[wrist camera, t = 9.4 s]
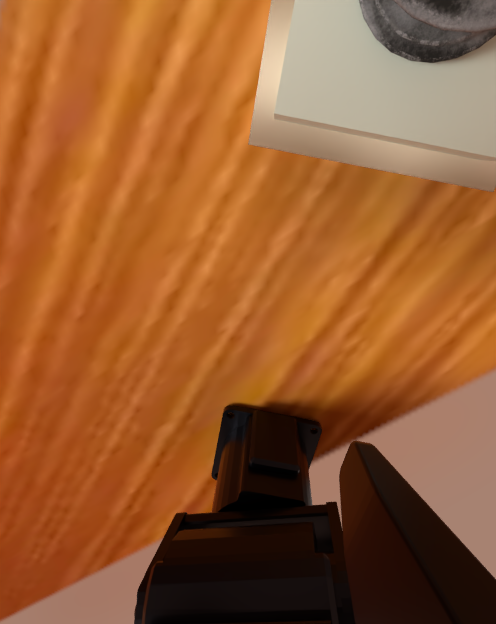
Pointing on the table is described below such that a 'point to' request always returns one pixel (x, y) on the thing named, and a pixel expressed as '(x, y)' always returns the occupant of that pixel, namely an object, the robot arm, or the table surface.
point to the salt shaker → (430, 26)
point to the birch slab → (342, 144)
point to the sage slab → (384, 86)
